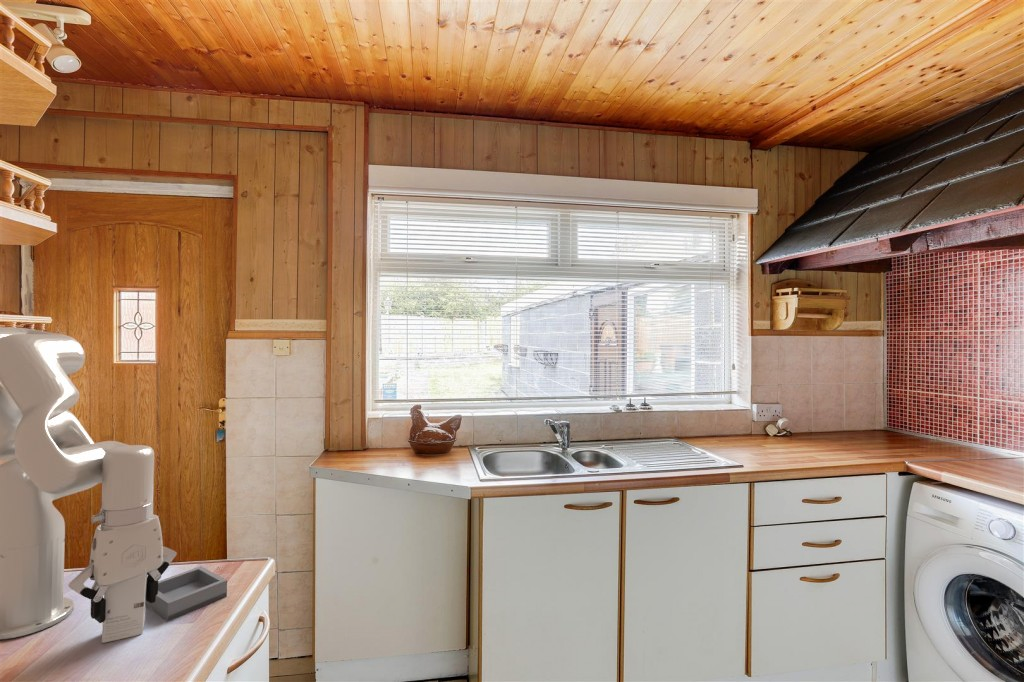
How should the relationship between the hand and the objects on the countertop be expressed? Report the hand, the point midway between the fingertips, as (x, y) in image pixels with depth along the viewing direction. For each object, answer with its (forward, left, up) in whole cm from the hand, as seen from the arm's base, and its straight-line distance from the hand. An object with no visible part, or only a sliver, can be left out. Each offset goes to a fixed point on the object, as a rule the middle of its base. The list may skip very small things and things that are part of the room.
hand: (125, 609), depth 89 cm
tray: (-3, +11, -4) cm, 13 cm away
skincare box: (0, 0, -5) cm, 5 cm away
